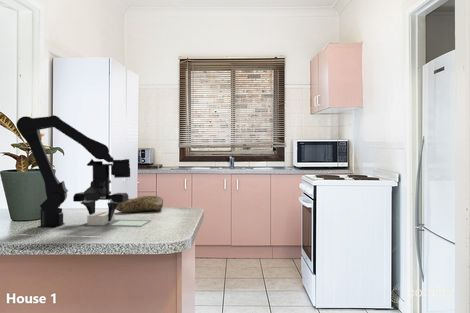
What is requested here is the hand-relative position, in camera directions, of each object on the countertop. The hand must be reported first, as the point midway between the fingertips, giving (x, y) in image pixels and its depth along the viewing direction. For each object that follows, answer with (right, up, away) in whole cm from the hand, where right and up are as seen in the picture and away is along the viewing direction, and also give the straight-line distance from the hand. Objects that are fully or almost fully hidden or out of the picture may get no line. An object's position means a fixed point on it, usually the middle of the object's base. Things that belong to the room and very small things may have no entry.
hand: (101, 220), depth 140 cm
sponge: (+7, -1, +27) cm, 28 cm away
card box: (0, -1, 0) cm, 1 cm away
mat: (+6, -1, -1) cm, 6 cm away
